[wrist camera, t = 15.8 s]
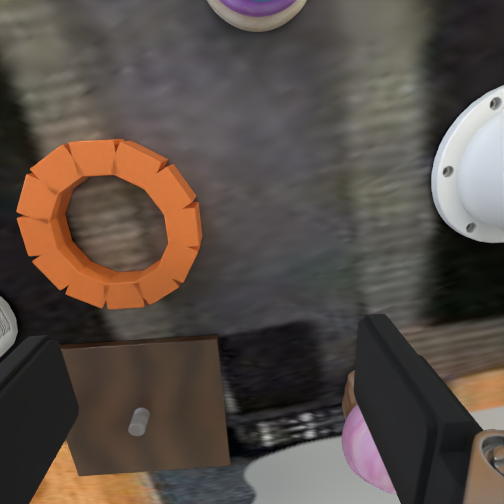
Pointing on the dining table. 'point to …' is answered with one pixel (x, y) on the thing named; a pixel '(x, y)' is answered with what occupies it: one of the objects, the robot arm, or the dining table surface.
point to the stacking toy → (257, 12)
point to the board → (147, 405)
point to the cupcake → (361, 443)
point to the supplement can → (7, 326)
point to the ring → (67, 252)
